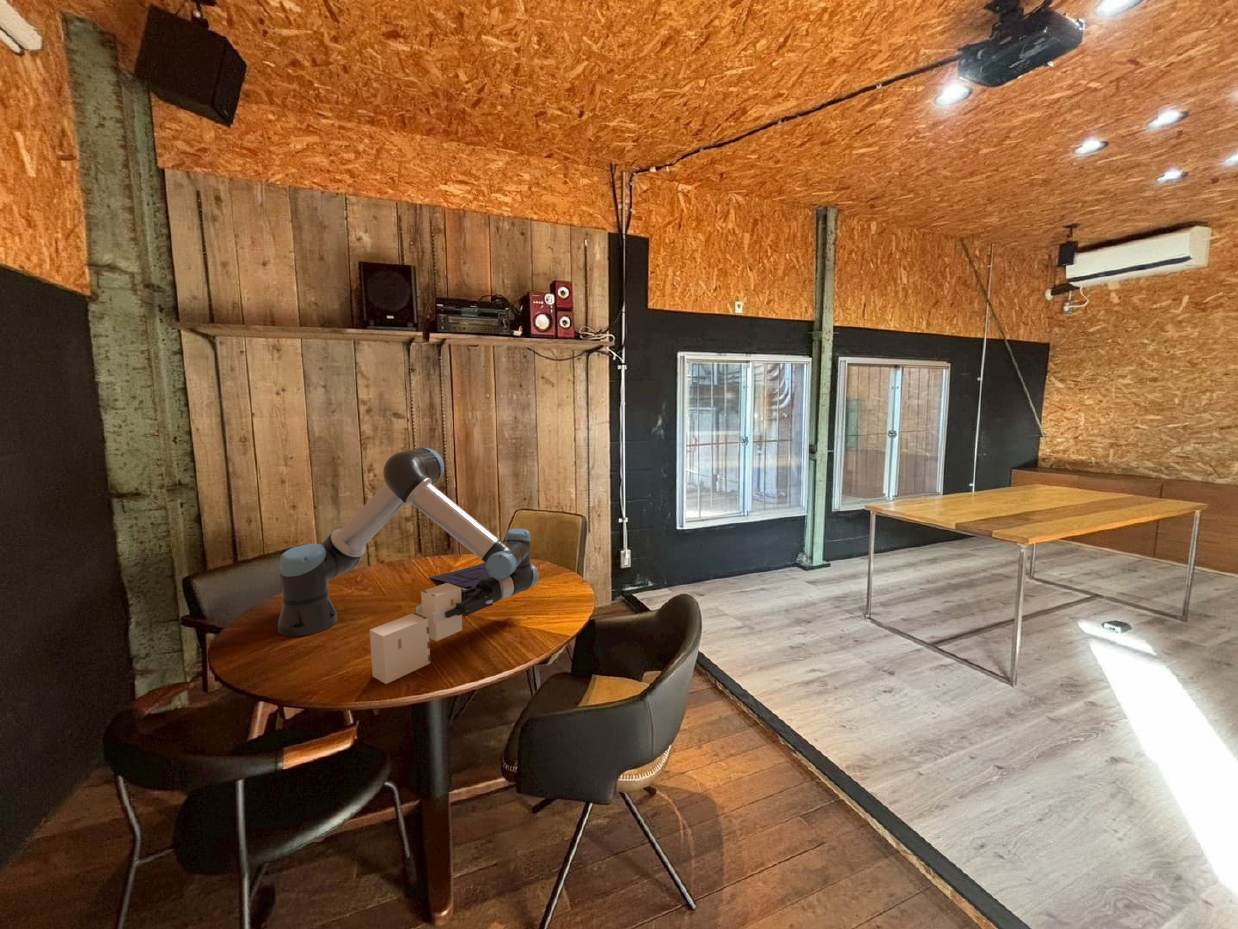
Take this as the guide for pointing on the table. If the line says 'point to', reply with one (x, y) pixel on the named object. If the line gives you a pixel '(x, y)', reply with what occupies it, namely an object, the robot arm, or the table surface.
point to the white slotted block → (399, 647)
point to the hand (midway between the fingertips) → (424, 615)
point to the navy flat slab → (465, 576)
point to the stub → (436, 601)
